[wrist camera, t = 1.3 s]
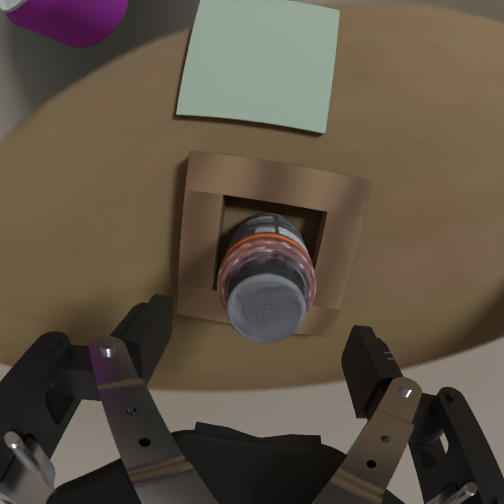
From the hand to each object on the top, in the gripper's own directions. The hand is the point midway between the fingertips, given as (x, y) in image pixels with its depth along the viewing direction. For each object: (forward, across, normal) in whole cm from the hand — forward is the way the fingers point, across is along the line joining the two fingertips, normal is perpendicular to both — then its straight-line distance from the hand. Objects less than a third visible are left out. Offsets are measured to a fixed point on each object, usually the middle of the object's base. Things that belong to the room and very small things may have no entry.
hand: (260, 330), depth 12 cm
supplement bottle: (+13, 0, 0) cm, 13 cm away
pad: (+13, +3, -16) cm, 21 cm away
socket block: (+13, 0, 0) cm, 13 cm away
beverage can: (+14, +20, -21) cm, 32 cm away
